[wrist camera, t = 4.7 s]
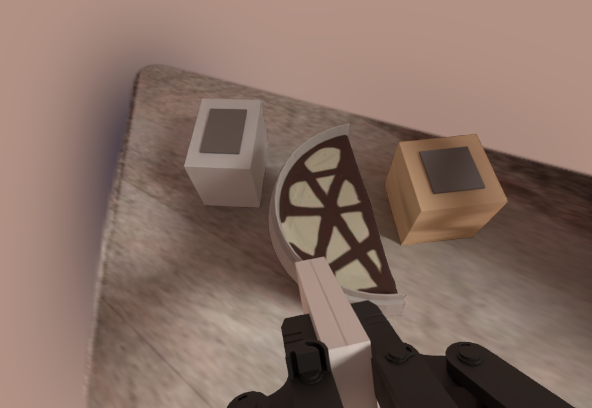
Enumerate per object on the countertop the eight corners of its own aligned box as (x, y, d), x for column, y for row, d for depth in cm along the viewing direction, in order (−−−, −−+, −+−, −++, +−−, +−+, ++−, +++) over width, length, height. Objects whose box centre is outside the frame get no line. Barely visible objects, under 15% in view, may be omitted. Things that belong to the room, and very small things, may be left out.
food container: (270, 208, 31) (253, 131, 23) (338, 197, 32) (347, 116, 23) (292, 357, 25) (281, 328, 16) (377, 342, 25) (410, 305, 17)
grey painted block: (268, 145, 35) (260, 97, 29) (259, 208, 31) (249, 167, 26) (218, 143, 35) (201, 96, 30) (204, 205, 32) (183, 165, 26)
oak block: (449, 177, 32) (477, 132, 27) (472, 237, 29) (509, 200, 24) (384, 184, 32) (399, 140, 27) (401, 245, 29) (422, 209, 24)
